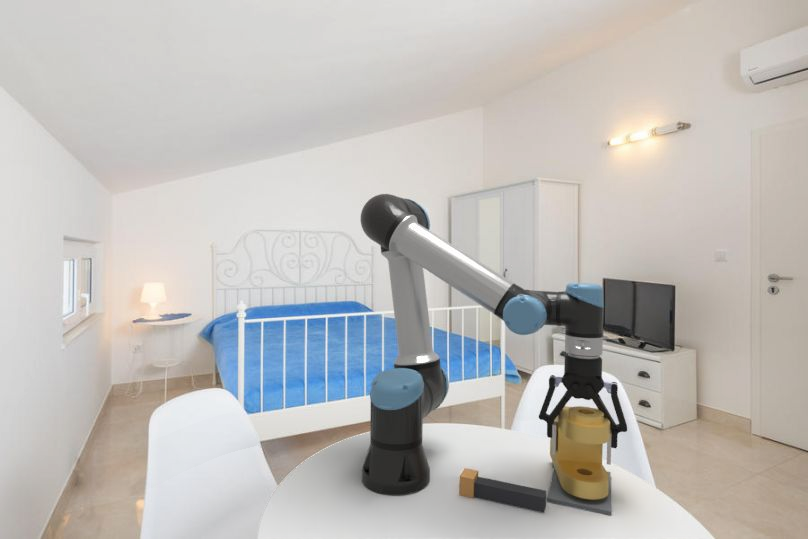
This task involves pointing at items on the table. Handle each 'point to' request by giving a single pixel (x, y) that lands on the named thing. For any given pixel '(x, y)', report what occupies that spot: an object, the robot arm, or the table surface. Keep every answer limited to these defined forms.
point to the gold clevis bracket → (581, 451)
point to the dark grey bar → (501, 491)
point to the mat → (578, 498)
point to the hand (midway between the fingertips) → (580, 457)
